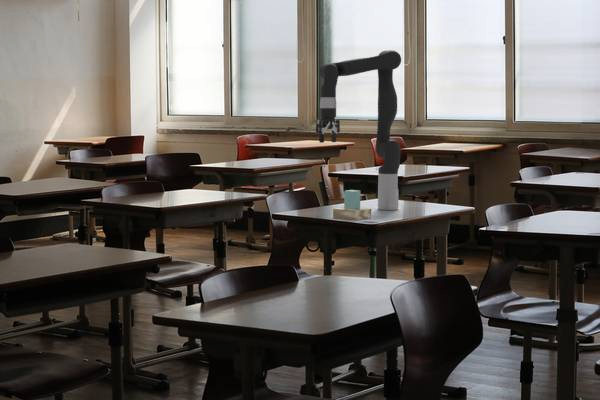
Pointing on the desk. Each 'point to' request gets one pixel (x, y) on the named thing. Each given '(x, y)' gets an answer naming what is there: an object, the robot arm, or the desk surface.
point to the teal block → (352, 199)
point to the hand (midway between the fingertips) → (327, 142)
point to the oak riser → (352, 213)
